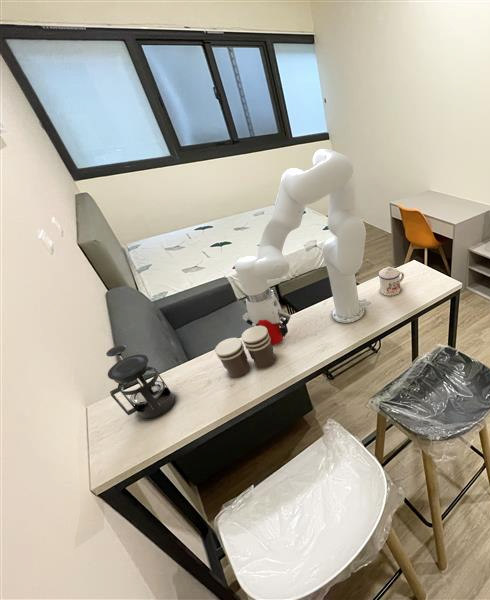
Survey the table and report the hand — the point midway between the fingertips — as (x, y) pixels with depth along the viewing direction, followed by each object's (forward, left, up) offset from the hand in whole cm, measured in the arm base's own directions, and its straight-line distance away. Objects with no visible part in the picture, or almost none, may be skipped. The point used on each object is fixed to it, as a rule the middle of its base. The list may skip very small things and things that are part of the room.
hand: (272, 334), depth 115 cm
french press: (+36, +13, -4) cm, 39 cm away
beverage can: (0, 0, -4) cm, 4 cm away
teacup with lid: (-52, -10, -4) cm, 53 cm away
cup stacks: (+9, +9, -4) cm, 13 cm away
